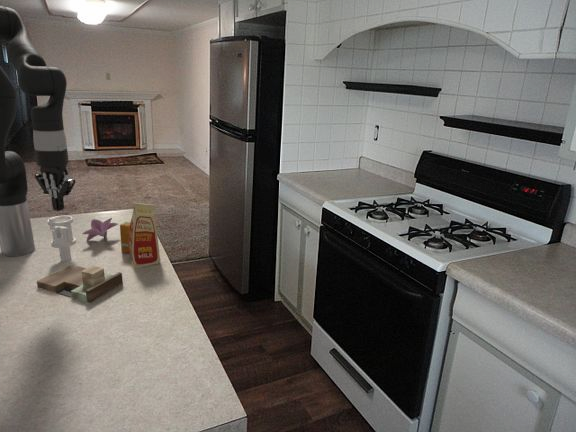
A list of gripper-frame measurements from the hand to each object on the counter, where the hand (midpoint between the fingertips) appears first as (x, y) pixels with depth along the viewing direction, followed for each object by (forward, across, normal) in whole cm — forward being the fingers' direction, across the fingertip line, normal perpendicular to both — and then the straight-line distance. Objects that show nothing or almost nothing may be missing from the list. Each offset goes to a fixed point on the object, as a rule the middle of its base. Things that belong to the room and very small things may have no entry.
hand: (58, 209), depth 117 cm
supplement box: (+22, 0, +25) cm, 33 cm away
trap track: (+22, +6, 0) cm, 22 cm away
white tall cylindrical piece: (+22, -13, +10) cm, 28 cm away
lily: (+22, -15, +27) cm, 38 cm away
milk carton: (+22, +10, +22) cm, 32 cm away
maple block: (+20, +11, 0) cm, 22 cm away
